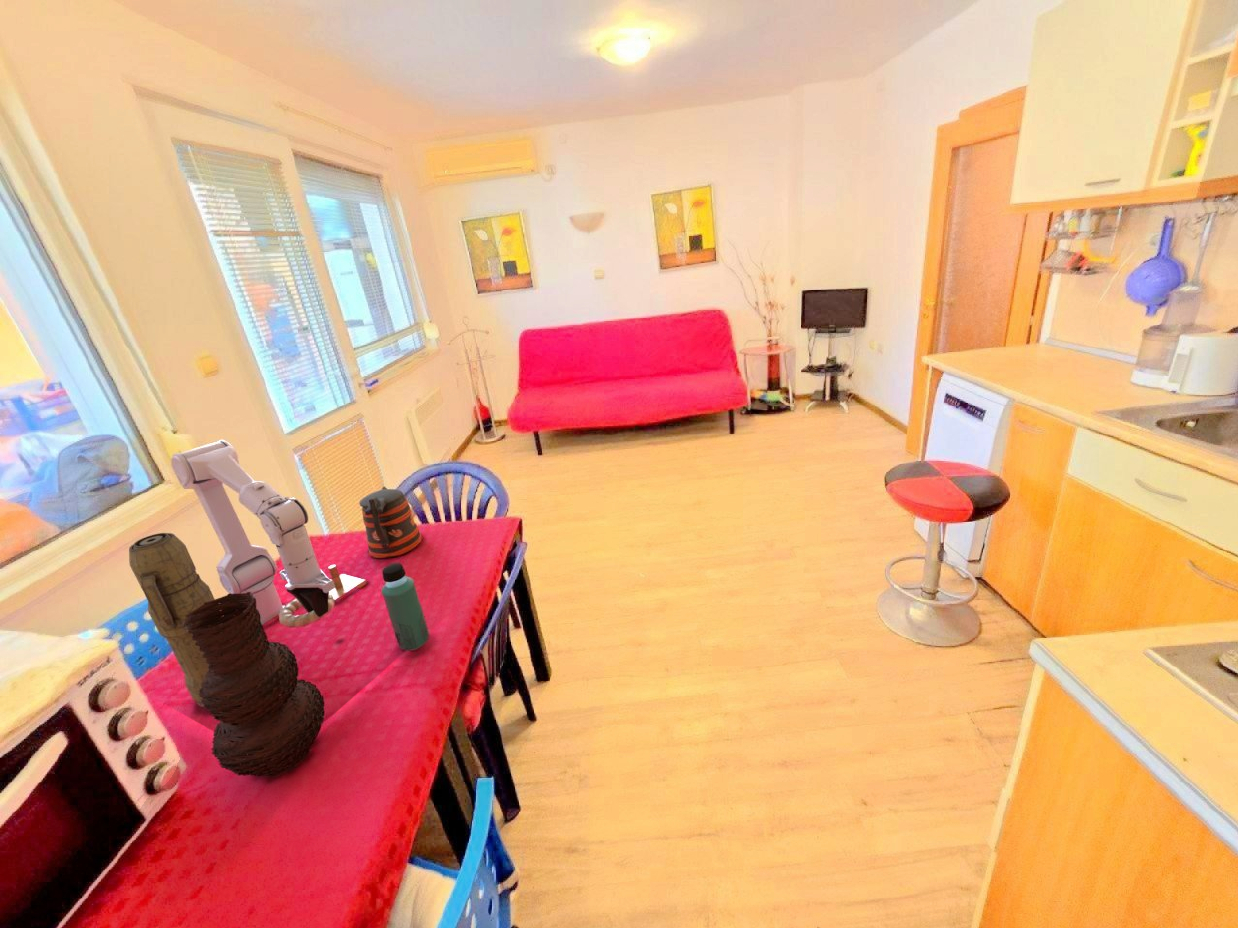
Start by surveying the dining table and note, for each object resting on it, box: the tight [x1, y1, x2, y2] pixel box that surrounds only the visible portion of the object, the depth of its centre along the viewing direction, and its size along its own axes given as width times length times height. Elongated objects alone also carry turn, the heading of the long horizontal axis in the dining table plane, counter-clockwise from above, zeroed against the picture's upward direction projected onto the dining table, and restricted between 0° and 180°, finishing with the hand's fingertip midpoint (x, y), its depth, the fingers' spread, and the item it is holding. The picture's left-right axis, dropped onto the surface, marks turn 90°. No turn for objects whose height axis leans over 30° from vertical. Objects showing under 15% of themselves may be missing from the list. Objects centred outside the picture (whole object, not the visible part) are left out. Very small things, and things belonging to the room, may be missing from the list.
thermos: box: [128, 532, 216, 708], centre depth 93 cm, size 9×12×35 cm
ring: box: [278, 594, 335, 629], centre depth 110 cm, size 10×10×2 cm
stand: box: [327, 564, 368, 601], centre depth 129 cm, size 9×9×7 cm
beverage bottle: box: [381, 562, 430, 652], centre depth 104 cm, size 6×7×20 cm
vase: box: [180, 592, 326, 780], centre depth 80 cm, size 15×15×30 cm
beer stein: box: [359, 486, 422, 559], centre depth 144 cm, size 19×15×20 cm
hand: (318, 612), depth 108 cm, fingers closed on ring, 2 cm apart
